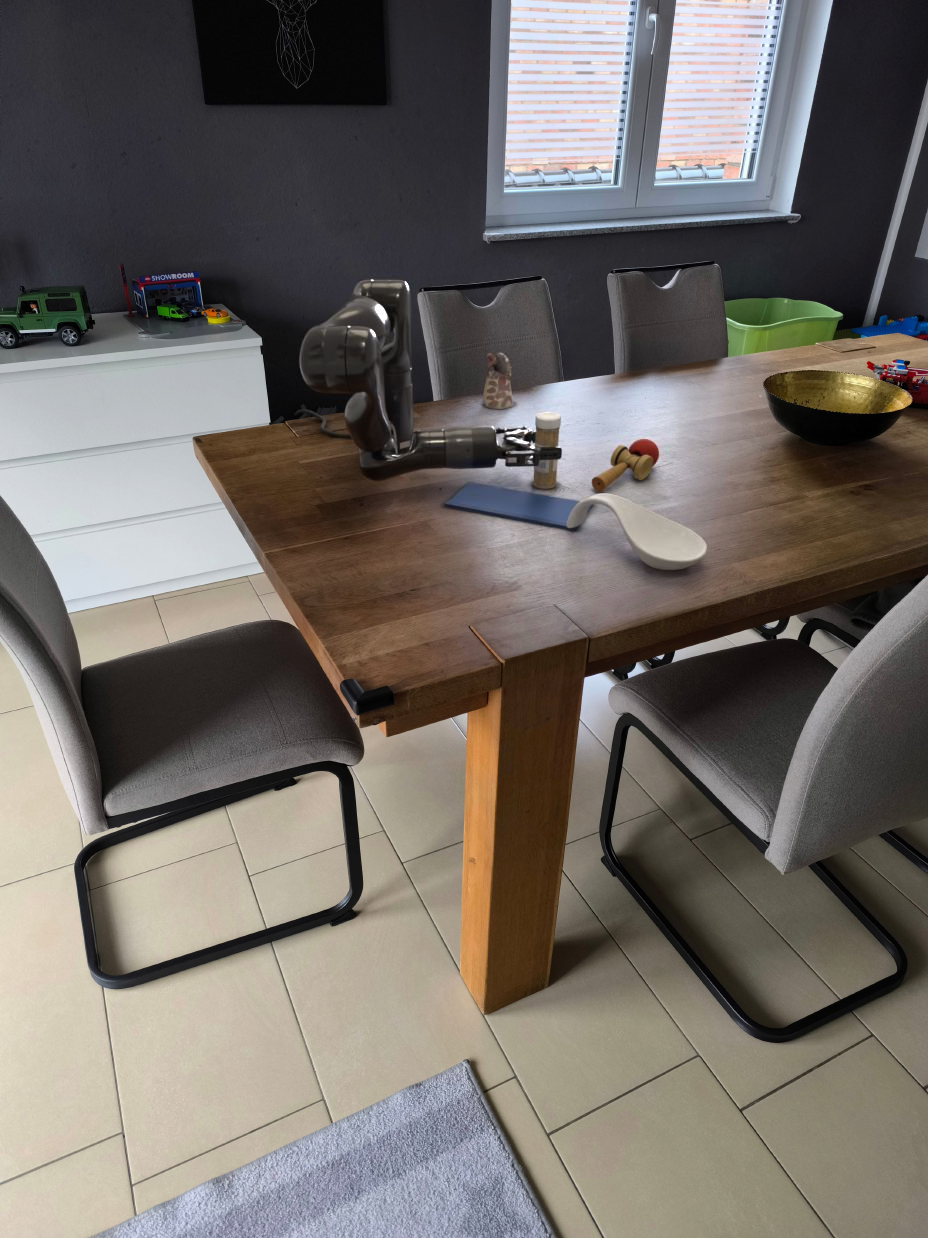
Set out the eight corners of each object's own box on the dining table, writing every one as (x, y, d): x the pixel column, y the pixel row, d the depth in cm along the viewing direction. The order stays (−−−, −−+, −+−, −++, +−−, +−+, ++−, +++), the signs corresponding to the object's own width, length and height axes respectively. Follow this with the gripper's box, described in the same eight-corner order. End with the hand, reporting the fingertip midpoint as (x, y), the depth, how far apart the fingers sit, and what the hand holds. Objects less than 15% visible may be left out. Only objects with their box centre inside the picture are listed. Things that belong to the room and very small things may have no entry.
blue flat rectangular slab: (444, 506, 148) (444, 503, 148) (469, 484, 157) (469, 481, 156) (573, 530, 140) (574, 527, 140) (592, 505, 148) (593, 502, 148)
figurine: (513, 409, 194) (515, 356, 188) (483, 408, 194) (483, 356, 188) (512, 399, 200) (514, 348, 194) (482, 399, 200) (483, 348, 194)
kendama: (619, 504, 152) (671, 464, 162) (614, 472, 149) (667, 433, 158) (584, 499, 157) (637, 461, 167) (579, 468, 154) (633, 431, 164)
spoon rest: (716, 561, 131) (725, 520, 127) (678, 589, 123) (686, 546, 119) (592, 514, 144) (596, 475, 140) (551, 537, 136) (554, 496, 132)
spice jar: (561, 486, 156) (566, 416, 148) (542, 491, 154) (546, 421, 146) (546, 478, 159) (550, 409, 152) (527, 483, 157) (530, 413, 150)
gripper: (473, 441, 143) (566, 438, 144) (464, 414, 155) (550, 411, 156) (473, 482, 147) (563, 478, 148) (464, 453, 159) (548, 449, 160)
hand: (556, 444), depth 152 cm, fingers open, 8 cm apart
